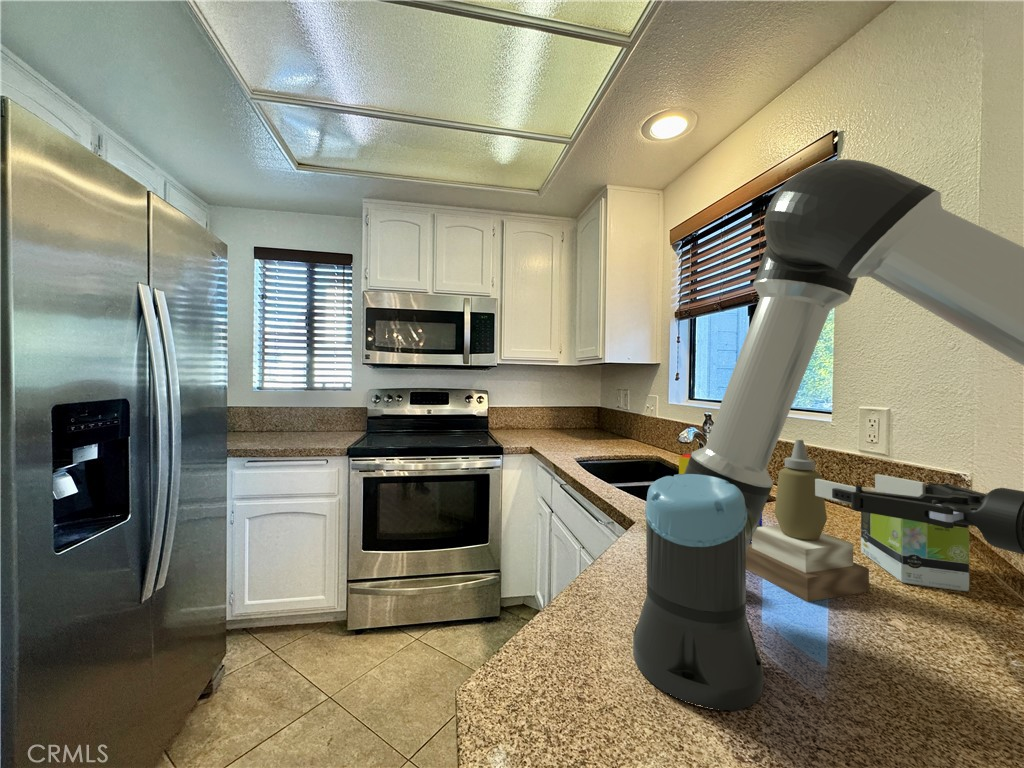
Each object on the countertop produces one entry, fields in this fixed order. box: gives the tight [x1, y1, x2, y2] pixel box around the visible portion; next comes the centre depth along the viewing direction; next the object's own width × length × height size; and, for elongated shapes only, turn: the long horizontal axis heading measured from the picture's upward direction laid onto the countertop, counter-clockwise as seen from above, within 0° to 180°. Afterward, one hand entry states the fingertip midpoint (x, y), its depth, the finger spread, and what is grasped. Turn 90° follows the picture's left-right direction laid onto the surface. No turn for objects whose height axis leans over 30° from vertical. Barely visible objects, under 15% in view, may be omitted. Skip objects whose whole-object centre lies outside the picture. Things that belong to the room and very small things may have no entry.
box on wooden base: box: [746, 524, 870, 603], centre depth 75 cm, size 14×14×8 cm
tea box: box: [860, 486, 970, 592], centre depth 78 cm, size 15×10×15 cm
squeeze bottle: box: [774, 439, 828, 540], centre depth 75 cm, size 8×8×18 cm
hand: (847, 484), depth 67 cm, fingers open, 13 cm apart
